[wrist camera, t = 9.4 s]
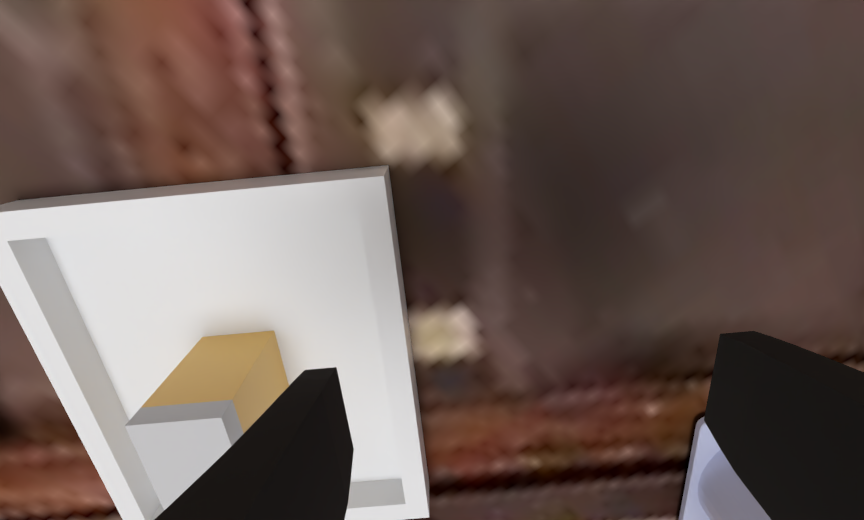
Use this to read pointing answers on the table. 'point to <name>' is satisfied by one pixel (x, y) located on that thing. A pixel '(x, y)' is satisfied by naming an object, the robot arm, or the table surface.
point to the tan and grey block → (205, 408)
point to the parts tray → (223, 310)
